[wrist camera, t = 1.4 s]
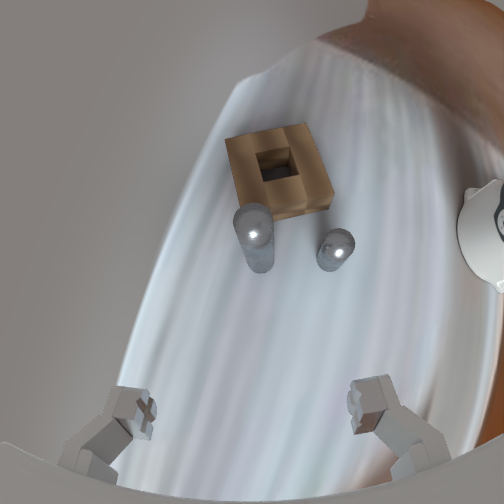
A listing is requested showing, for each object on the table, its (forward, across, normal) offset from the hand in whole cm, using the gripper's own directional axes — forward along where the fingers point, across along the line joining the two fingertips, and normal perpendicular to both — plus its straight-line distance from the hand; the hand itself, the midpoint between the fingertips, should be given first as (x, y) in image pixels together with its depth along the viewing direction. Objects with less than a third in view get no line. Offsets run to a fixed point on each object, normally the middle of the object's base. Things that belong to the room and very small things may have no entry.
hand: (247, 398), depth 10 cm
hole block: (+36, -4, +2) cm, 36 cm away
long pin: (+28, 0, +10) cm, 29 cm away
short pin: (+27, -10, +10) cm, 30 cm away
